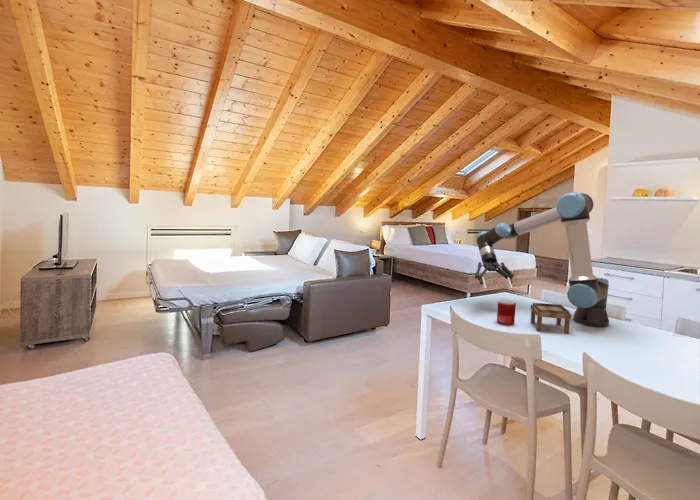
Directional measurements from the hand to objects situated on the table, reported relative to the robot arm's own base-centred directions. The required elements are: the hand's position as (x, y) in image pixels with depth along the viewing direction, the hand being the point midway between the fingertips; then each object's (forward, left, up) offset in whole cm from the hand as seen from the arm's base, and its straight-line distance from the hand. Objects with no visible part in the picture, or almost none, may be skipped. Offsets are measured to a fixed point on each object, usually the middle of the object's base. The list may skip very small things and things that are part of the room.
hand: (498, 289), depth 193 cm
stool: (-22, +12, -14) cm, 29 cm away
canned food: (-3, +10, -15) cm, 18 cm away
